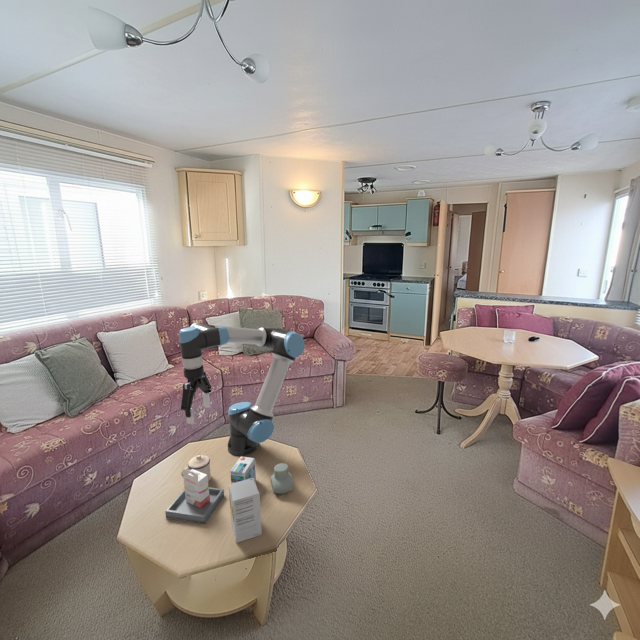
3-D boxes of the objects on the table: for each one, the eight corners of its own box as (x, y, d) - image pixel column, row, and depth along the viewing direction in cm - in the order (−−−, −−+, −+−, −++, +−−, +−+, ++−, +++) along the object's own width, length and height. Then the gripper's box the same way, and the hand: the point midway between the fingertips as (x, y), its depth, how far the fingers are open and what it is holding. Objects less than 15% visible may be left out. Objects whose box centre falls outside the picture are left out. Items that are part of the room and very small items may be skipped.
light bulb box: (246, 496, 139) (245, 473, 136) (231, 494, 140) (229, 471, 138) (256, 479, 149) (255, 457, 147) (242, 477, 150) (240, 455, 148)
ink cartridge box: (210, 500, 135) (207, 467, 132) (201, 509, 131) (197, 475, 128) (195, 494, 139) (191, 461, 136) (185, 502, 135) (181, 468, 132)
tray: (188, 490, 142) (188, 484, 142) (224, 495, 139) (223, 489, 139) (166, 517, 128) (165, 511, 127) (204, 524, 125) (204, 517, 124)
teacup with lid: (210, 471, 155) (208, 447, 153) (212, 483, 147) (210, 458, 145) (181, 478, 150) (179, 454, 148) (182, 491, 142) (180, 466, 140)
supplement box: (231, 524, 125) (227, 483, 121) (256, 516, 128) (253, 476, 125) (235, 544, 116) (232, 501, 113) (262, 535, 120) (260, 492, 116)
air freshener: (294, 494, 139) (293, 473, 137) (274, 499, 137) (273, 477, 135) (288, 478, 149) (288, 457, 147) (270, 482, 147) (269, 461, 145)
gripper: (199, 355, 148) (205, 400, 153) (166, 378, 124) (173, 430, 129) (216, 356, 147) (221, 401, 152) (185, 378, 123) (192, 431, 128)
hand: (199, 415), depth 140 cm, fingers open, 13 cm apart
